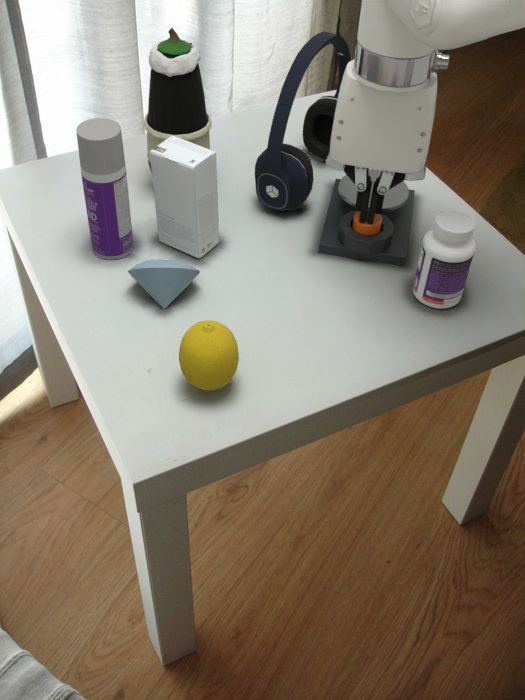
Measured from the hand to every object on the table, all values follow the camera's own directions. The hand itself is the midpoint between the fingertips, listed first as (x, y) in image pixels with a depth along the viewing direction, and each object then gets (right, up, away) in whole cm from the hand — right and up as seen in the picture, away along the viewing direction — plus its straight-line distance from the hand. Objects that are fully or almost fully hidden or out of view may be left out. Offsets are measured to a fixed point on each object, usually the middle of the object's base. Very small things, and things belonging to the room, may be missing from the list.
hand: (367, 216), depth 89 cm
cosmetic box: (-21, -3, +2) cm, 21 cm away
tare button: (0, -1, +1) cm, 2 cm away
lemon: (-17, -19, -13) cm, 29 cm away
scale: (+1, 0, +6) cm, 6 cm away
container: (-29, -4, +1) cm, 29 cm away
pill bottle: (+7, -9, -2) cm, 12 cm away
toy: (-22, +5, +10) cm, 25 cm away
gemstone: (-22, -9, -4) cm, 25 cm away
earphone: (-6, +7, +12) cm, 16 cm away
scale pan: (+1, +4, +6) cm, 7 cm away
